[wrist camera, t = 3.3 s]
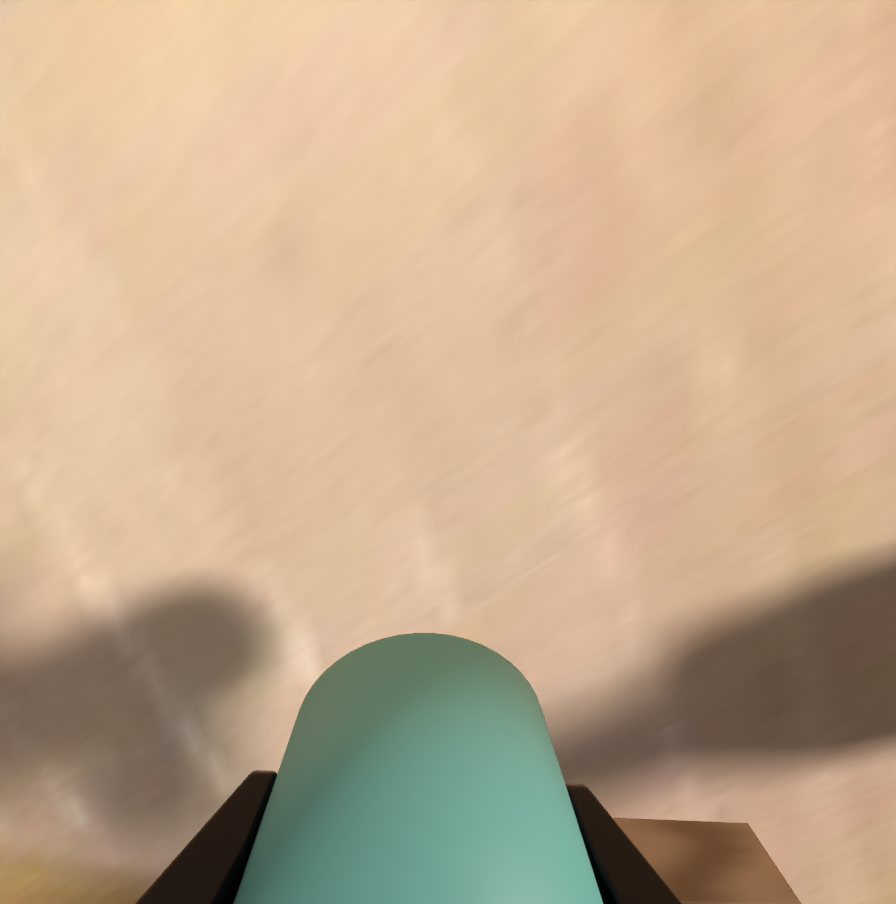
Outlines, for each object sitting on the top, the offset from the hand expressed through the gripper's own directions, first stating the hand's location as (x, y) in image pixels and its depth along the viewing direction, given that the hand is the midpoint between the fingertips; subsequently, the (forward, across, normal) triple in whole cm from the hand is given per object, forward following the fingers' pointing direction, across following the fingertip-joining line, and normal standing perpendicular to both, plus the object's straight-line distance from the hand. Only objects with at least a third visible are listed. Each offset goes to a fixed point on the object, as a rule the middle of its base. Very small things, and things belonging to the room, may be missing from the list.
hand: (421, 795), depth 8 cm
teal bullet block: (+1, 0, 0) cm, 1 cm away
